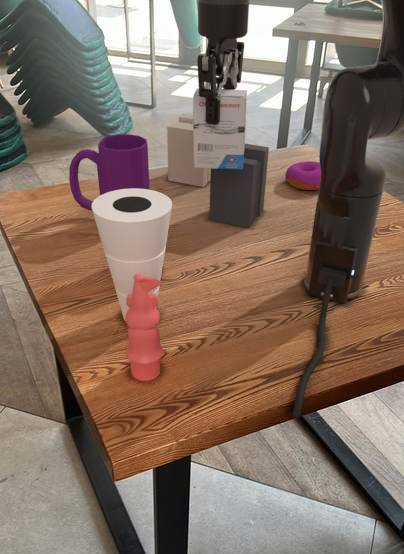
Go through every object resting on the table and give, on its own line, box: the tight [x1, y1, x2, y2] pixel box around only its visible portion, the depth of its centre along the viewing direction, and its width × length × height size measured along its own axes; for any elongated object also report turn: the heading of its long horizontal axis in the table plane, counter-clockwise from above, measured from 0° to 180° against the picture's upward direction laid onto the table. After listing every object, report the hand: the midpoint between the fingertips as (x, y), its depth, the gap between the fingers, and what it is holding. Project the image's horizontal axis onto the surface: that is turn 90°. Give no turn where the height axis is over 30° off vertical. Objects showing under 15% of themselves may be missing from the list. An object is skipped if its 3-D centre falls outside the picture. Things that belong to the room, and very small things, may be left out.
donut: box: [284, 160, 321, 191], centre depth 126 cm, size 10×10×5 cm
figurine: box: [124, 274, 164, 382], centre depth 73 cm, size 5×5×15 cm
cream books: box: [166, 113, 211, 188], centre depth 127 cm, size 8×9×12 cm
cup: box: [91, 188, 173, 322], centre depth 82 cm, size 11×11×18 cm
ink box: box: [192, 87, 248, 170], centre depth 95 cm, size 8×5×12 cm, turn 84°
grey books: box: [208, 143, 270, 229], centre depth 111 cm, size 8×9×13 cm
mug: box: [68, 133, 151, 212], centre depth 109 cm, size 9×16×15 cm, turn 83°
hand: (219, 118), depth 94 cm, fingers closed on ink box, 5 cm apart
